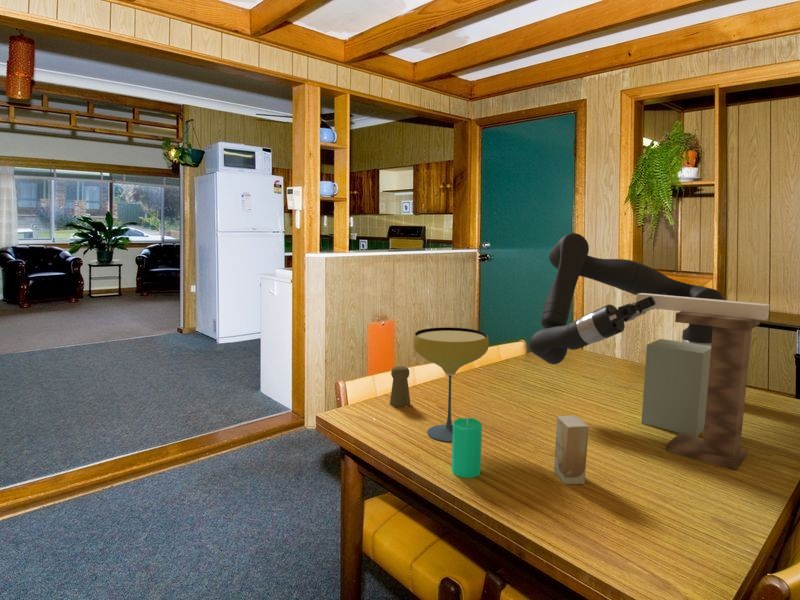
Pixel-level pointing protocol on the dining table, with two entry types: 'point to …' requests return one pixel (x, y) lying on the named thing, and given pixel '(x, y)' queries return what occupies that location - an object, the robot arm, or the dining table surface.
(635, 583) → the dining table surface
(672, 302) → the cream bar
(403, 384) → the pepper mill
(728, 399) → the walnut stand
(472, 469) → the candle
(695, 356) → the pale grey-green block
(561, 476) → the skincare box
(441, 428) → the cocktail glass
